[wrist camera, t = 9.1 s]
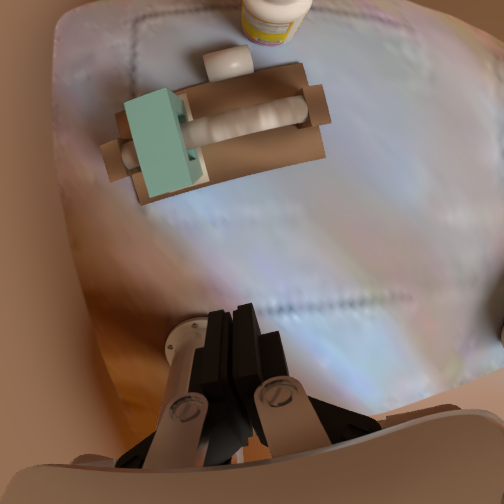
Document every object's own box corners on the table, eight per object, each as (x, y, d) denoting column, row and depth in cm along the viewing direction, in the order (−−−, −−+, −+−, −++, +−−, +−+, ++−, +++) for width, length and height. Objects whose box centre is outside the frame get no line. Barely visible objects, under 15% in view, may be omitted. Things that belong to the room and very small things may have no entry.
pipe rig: (324, 157, 36) (345, 161, 28) (142, 204, 37) (121, 220, 29) (301, 64, 32) (317, 46, 24) (116, 114, 32) (89, 109, 25)
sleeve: (248, 61, 32) (255, 78, 31) (207, 71, 32) (211, 89, 31) (244, 39, 29) (251, 54, 27) (201, 49, 29) (204, 66, 28)
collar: (203, 174, 34) (192, 185, 26) (170, 184, 34) (149, 198, 26) (183, 100, 31) (166, 87, 23) (150, 111, 31) (123, 102, 23)
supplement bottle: (272, -4, 28) (288, -58, 16) (306, 31, 30) (337, -12, 18) (229, 21, 29) (226, -30, 17) (263, 58, 31) (277, 18, 19)
